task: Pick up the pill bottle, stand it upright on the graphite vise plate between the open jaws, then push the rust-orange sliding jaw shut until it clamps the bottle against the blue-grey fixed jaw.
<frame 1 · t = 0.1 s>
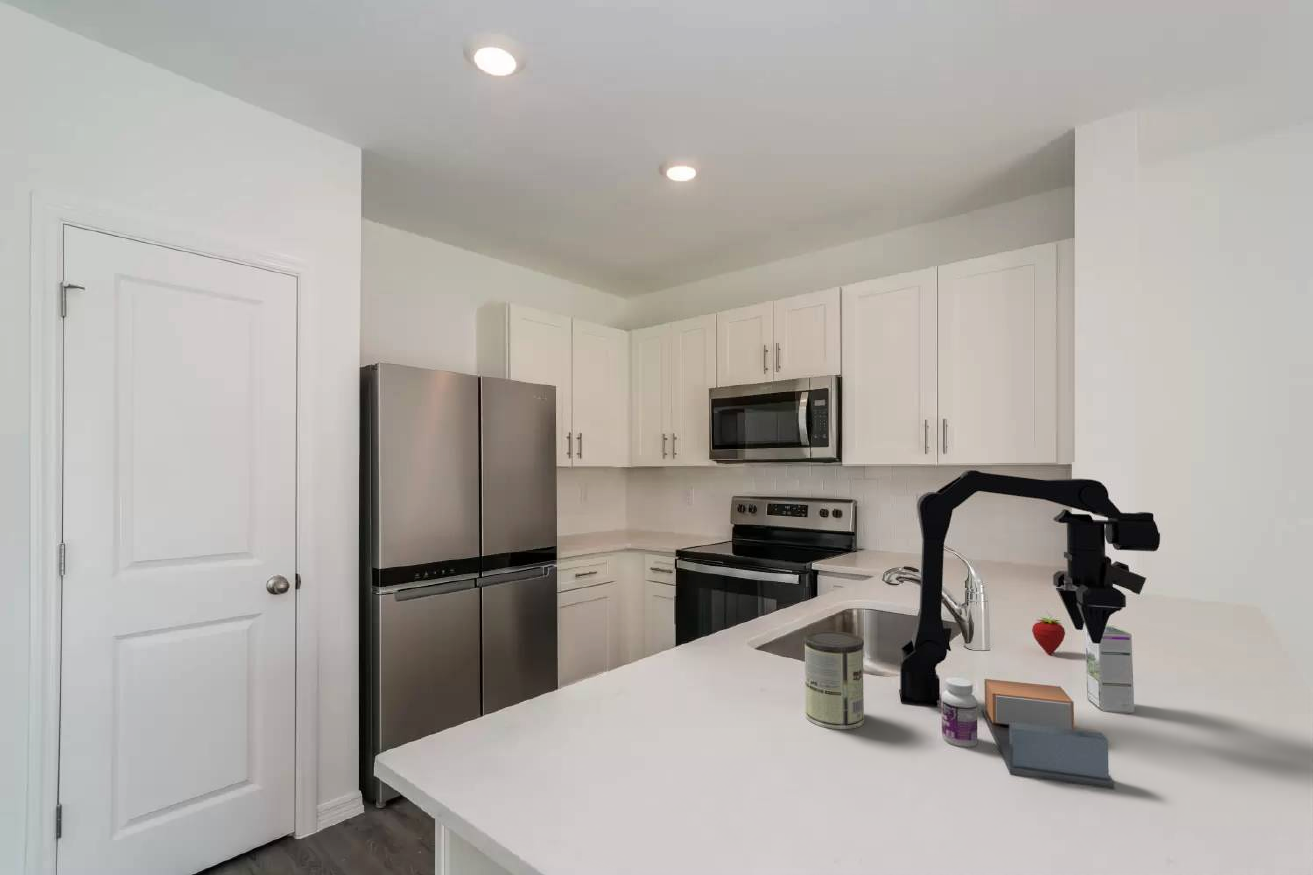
hand: (1087, 636, 114), 15 cm above the countertop, tool pointing down, fingers open, 9 cm apart
pill bottle: (959, 741, 105), on the countertop
syrup box: (1109, 707, 119), on the countertop
strawberry: (1048, 655, 151), on the countertop
coffee can: (833, 718, 114), on the countertop
sliding jaw: (1027, 704, 110), point 4 cm above the countertop, slide at 0.0 cm
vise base: (1047, 759, 98), on the countertop
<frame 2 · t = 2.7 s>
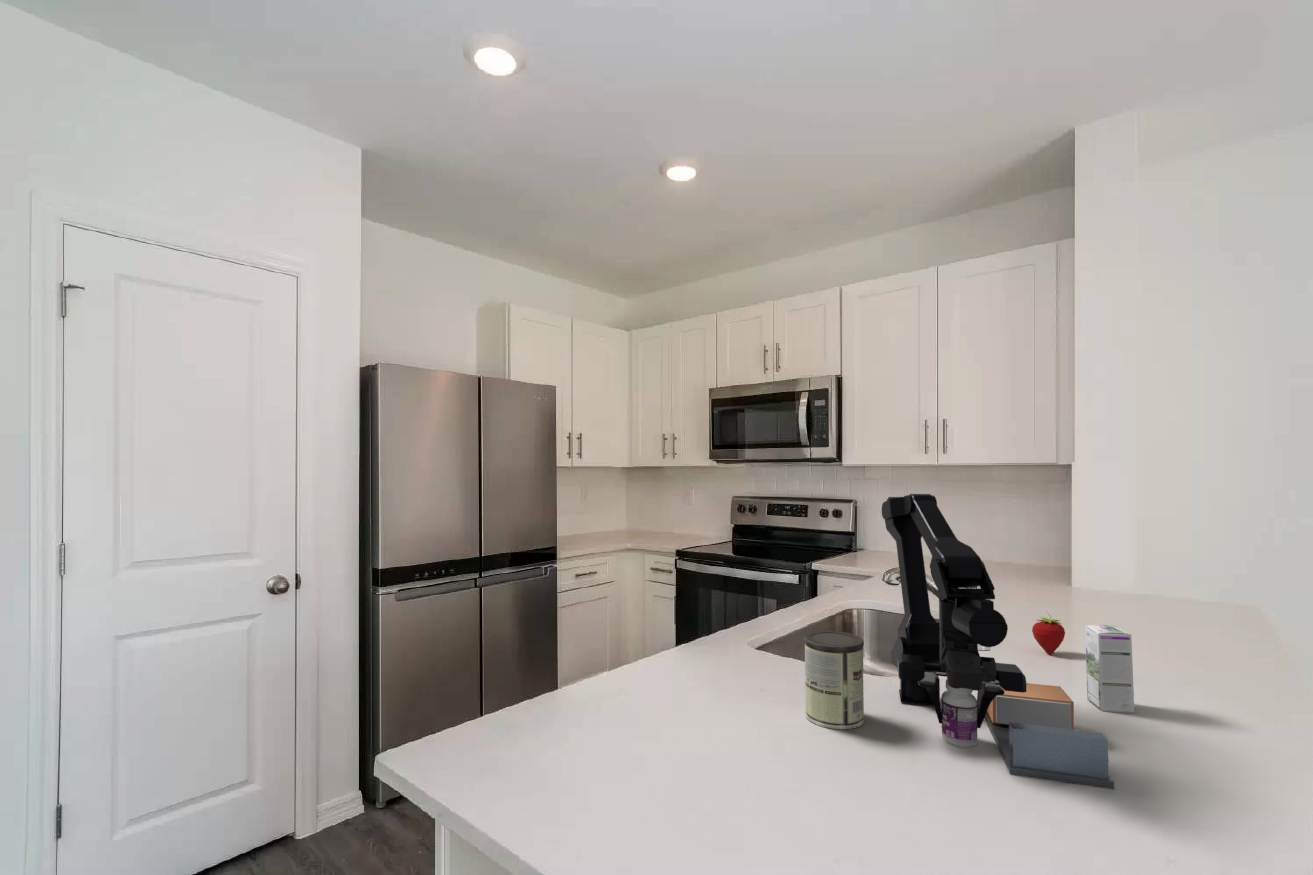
hand: (959, 724, 105), 3 cm above the countertop, tool pointing down, fingers closed on pill bottle, 5 cm apart
pill bottle: (959, 741, 105), on the countertop, touching gripper
everything else where it was.
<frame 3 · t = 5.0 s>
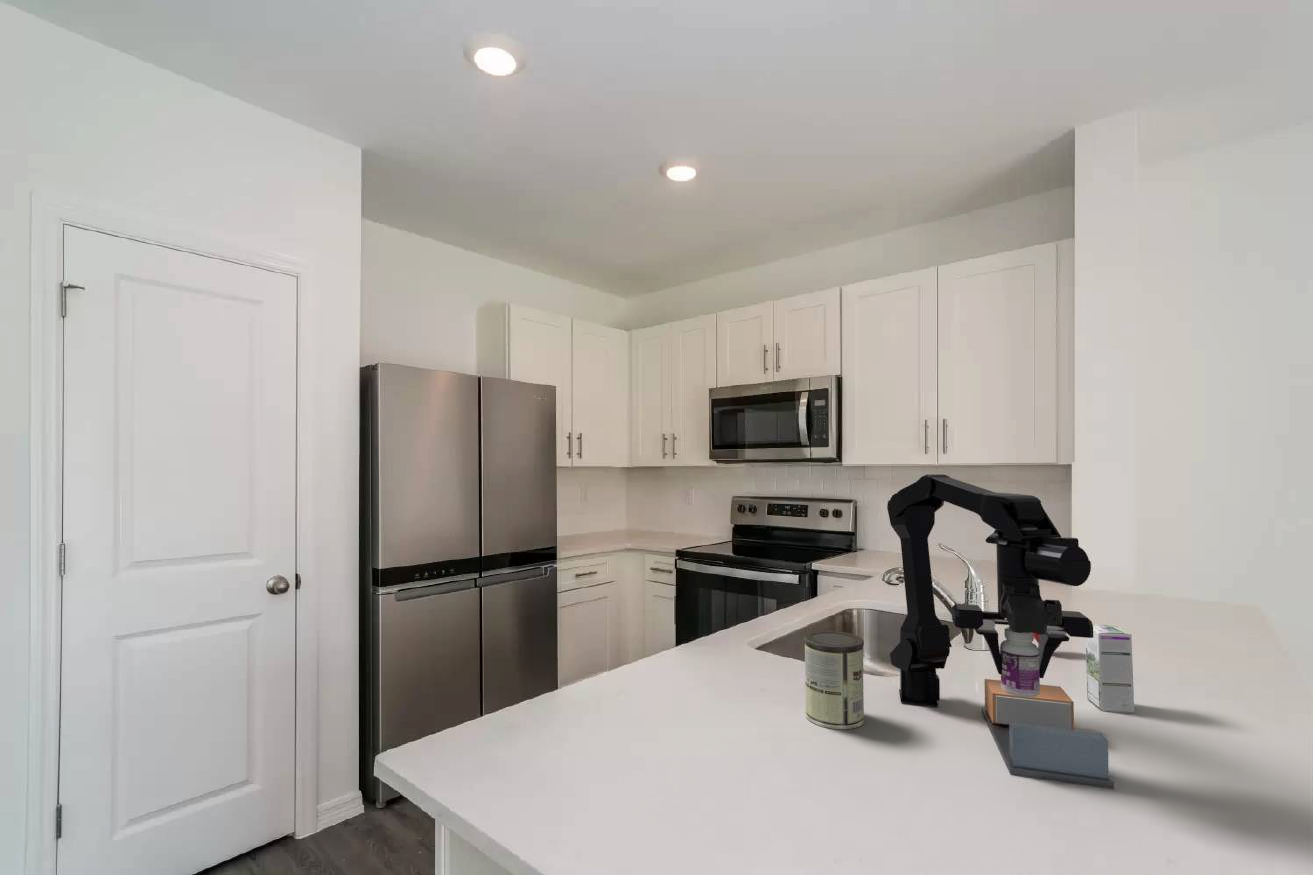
hand: (1020, 675, 100), 12 cm above the countertop, tool pointing down, fingers closed on pill bottle, 5 cm apart
pill bottle: (1020, 693, 99), point 10 cm above the countertop, touching gripper
everything else where it was.
when the fingers open (4 cm above the countertop, at t = 7.1 s): pill bottle stays where it is, resting on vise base.
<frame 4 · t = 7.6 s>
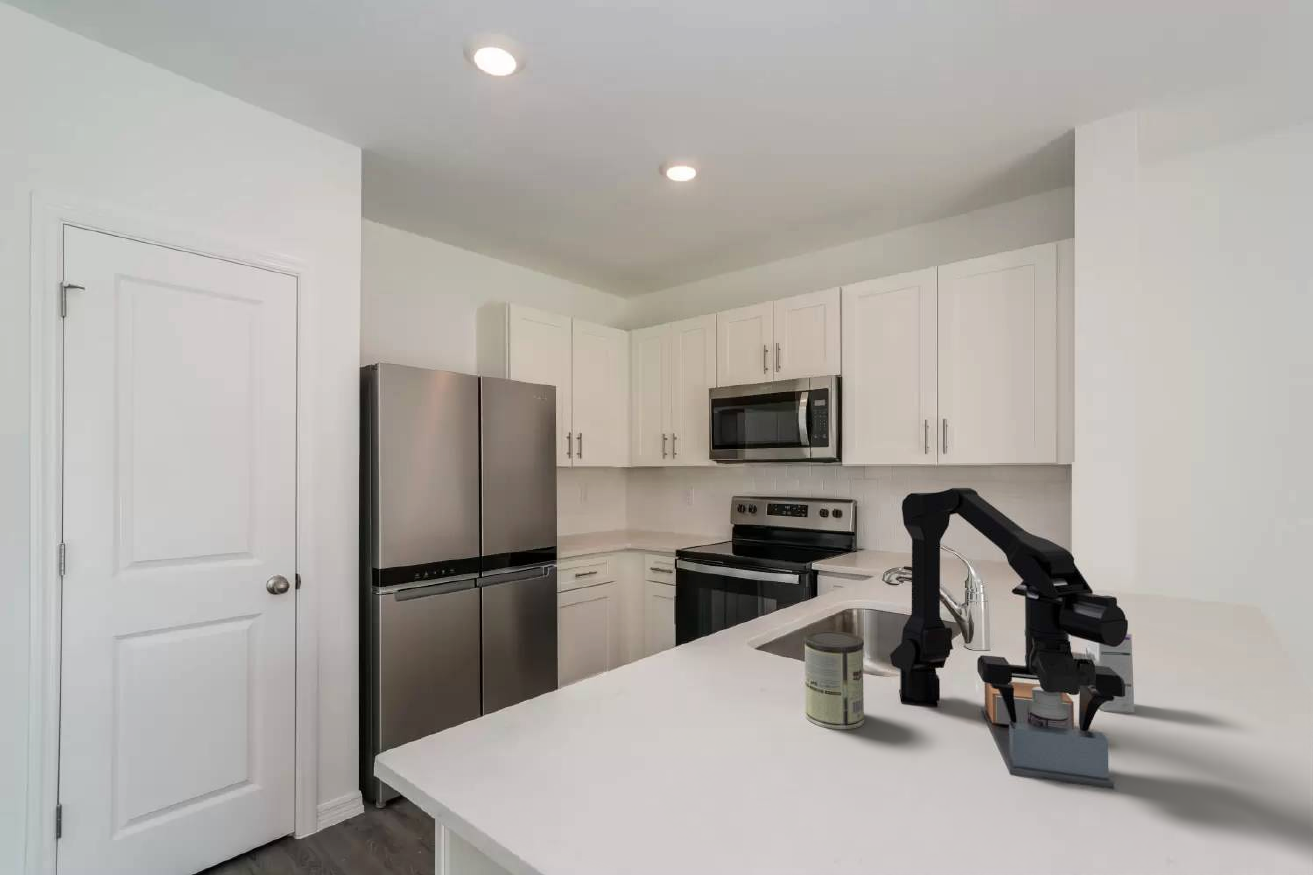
hand: (1047, 731, 98), 4 cm above the countertop, tool pointing down, fingers open, 9 cm apart
pill bottle: (1047, 755, 98), point 1 cm above the countertop, touching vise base
everything else where it was.
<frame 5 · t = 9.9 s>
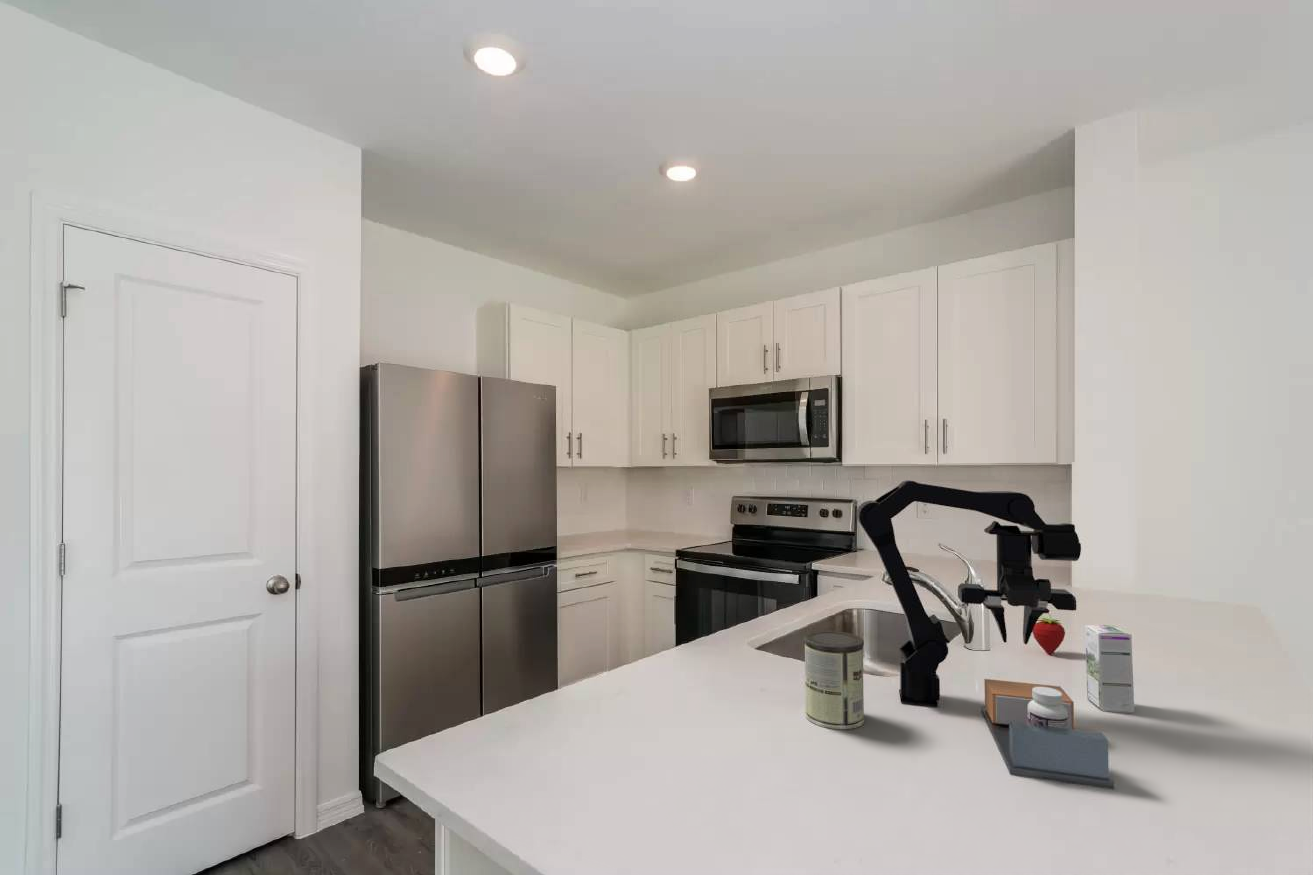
hand: (1015, 642, 119), 12 cm above the countertop, tool pointing down, fingers open, 3 cm apart
nothing on the countertop moved.
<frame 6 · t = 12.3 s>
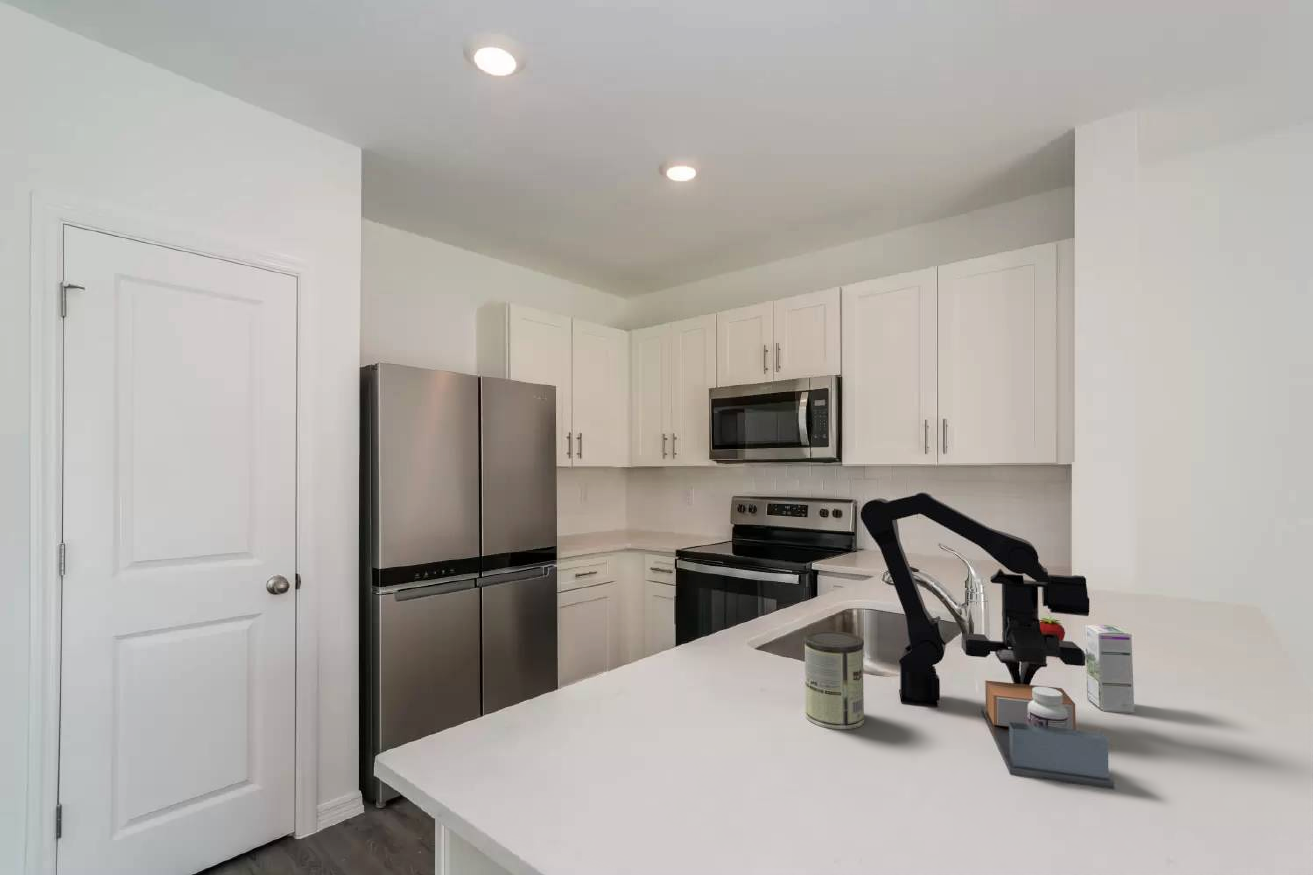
hand: (1021, 696, 114), 4 cm above the countertop, tool pointing down, fingers closed
sliding jaw: (1028, 706, 109), point 4 cm above the countertop, slide at 0.9 cm, touching gripper
everything else where it was.
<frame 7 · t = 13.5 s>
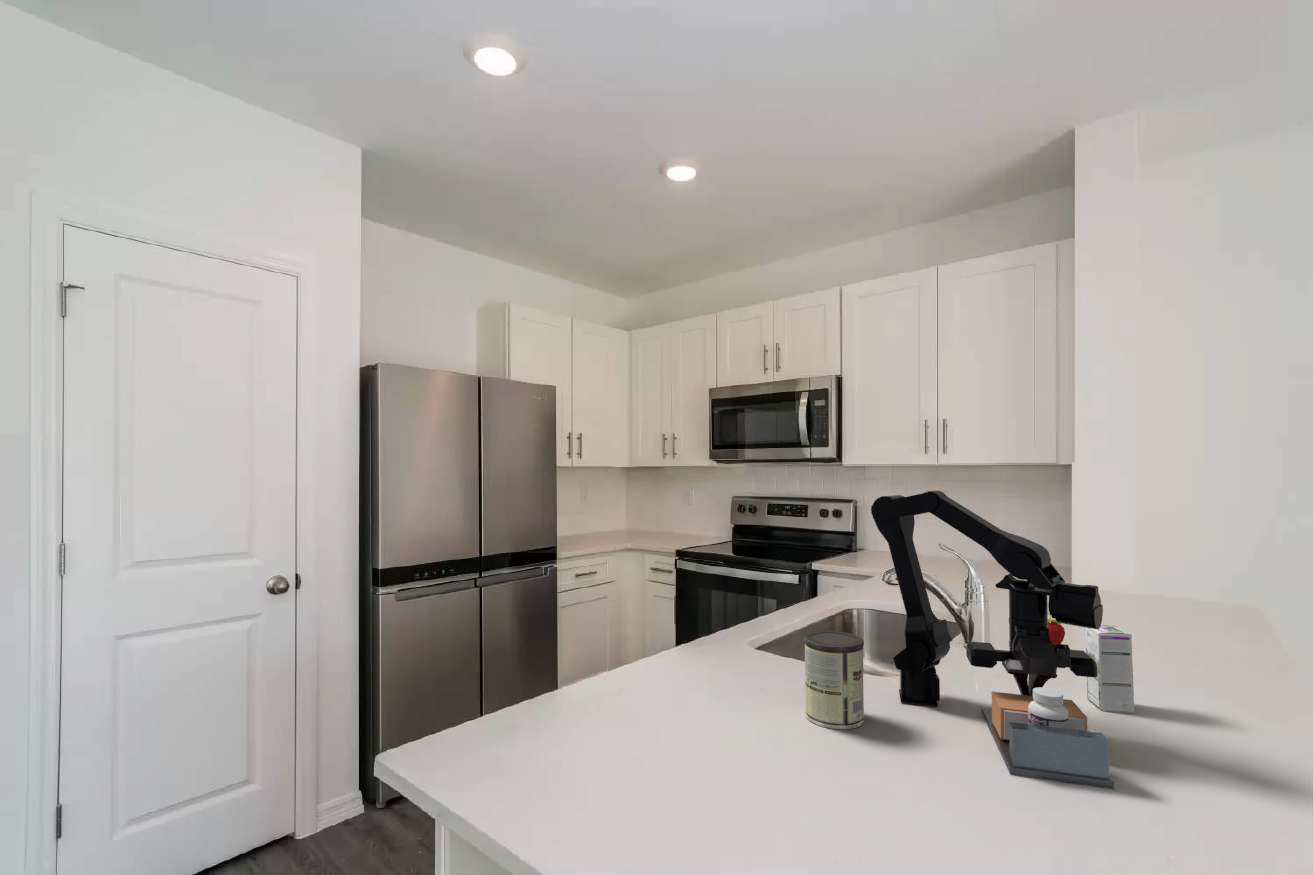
hand: (1029, 708, 109), 4 cm above the countertop, tool pointing down, fingers closed, pressing on sliding jaw
pill bottle: (1048, 756, 97), point 1 cm above the countertop, touching sliding jaw, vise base
sliding jaw: (1037, 719, 104), point 4 cm above the countertop, slide at 6.6 cm, touching gripper, pill bottle
everything else where it was.
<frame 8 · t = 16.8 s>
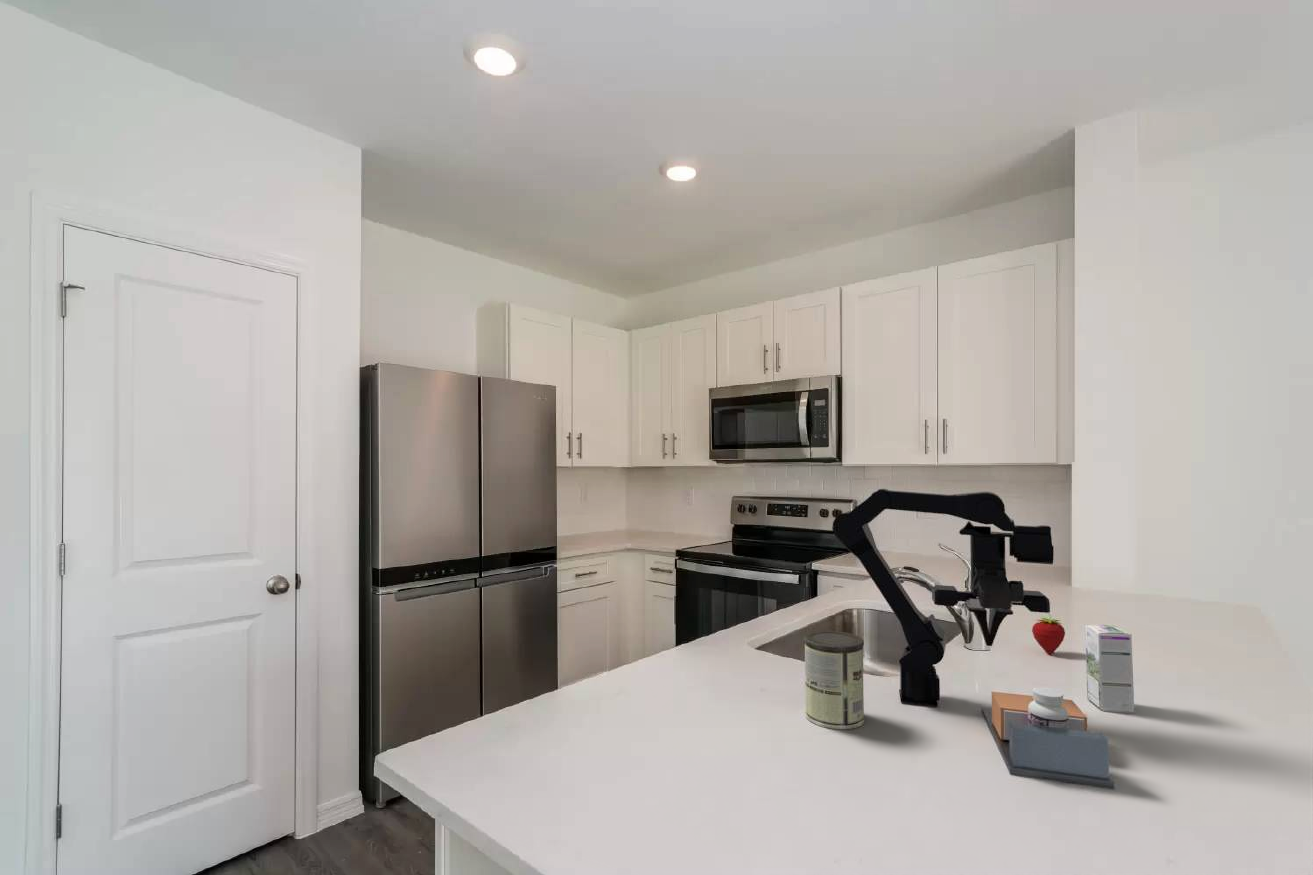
hand: (988, 645, 117), 12 cm above the countertop, tool pointing down, fingers closed
sliding jaw: (1037, 719, 104), point 4 cm above the countertop, slide at 6.6 cm, touching pill bottle
everything else where it was.
at the end: sliding jaw slide at 6.6 cm; pill bottle tilted 0°; pill bottle 0.1 cm from the target spot, point 0.8 cm above the countertop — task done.
